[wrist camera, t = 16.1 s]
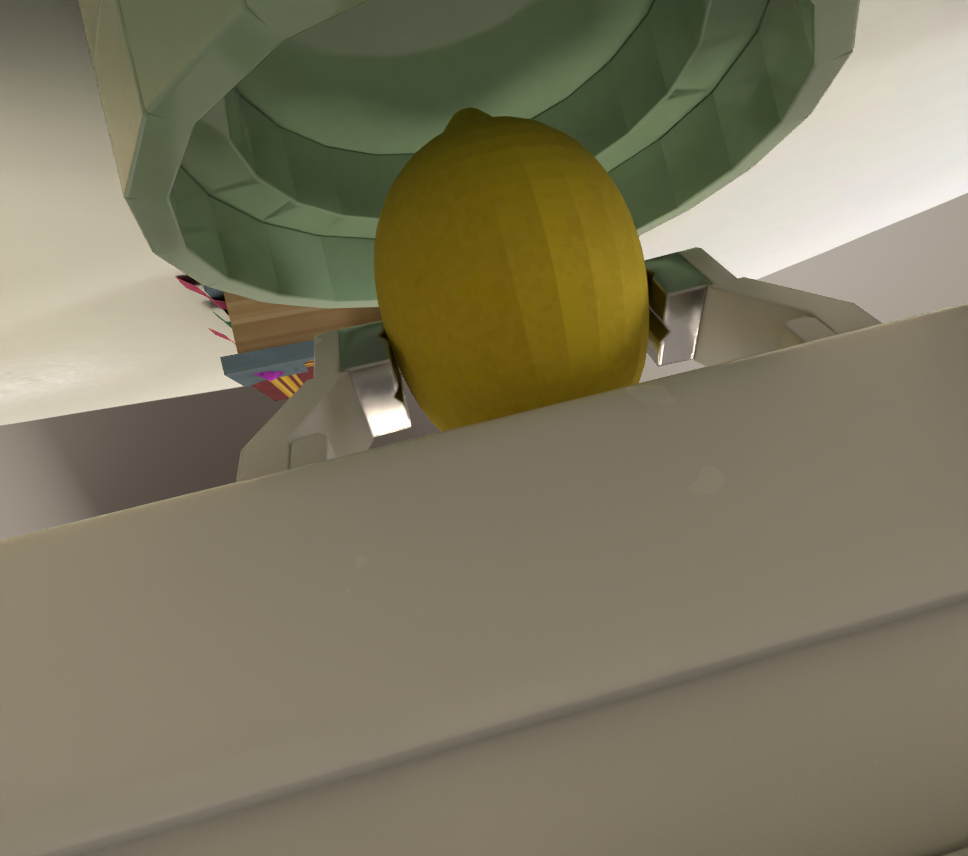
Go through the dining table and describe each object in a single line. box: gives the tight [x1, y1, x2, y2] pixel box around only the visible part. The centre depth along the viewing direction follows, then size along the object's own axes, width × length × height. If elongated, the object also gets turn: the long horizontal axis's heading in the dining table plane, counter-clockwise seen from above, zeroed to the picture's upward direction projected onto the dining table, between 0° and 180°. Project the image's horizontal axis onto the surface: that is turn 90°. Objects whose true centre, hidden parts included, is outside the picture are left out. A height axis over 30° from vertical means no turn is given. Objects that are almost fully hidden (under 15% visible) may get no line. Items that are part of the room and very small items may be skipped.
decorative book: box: [177, 278, 402, 401], centre depth 28 cm, size 11×16×5 cm
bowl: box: [78, 0, 860, 309], centre depth 12 cm, size 13×13×4 cm
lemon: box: [374, 107, 649, 432], centre depth 11 cm, size 6×6×8 cm
